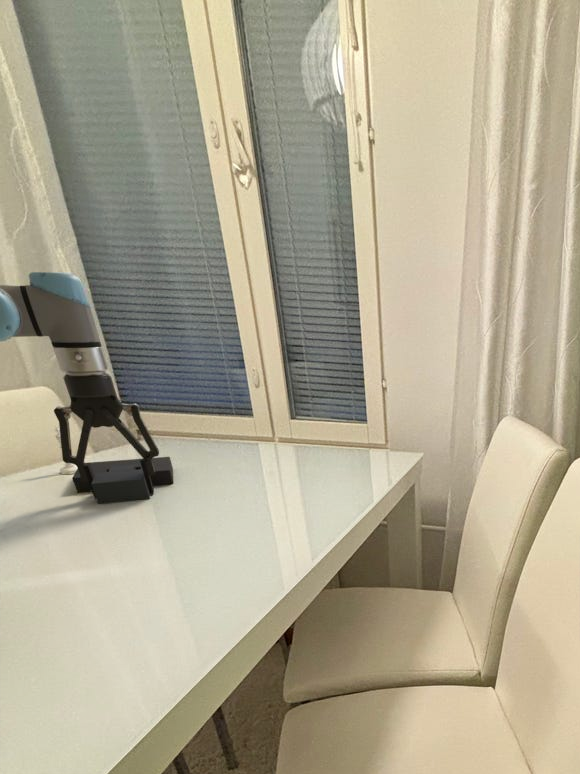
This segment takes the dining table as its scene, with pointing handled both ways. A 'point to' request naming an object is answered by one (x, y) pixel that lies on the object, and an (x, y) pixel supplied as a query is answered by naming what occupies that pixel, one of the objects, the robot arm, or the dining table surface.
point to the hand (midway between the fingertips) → (125, 494)
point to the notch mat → (160, 466)
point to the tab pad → (120, 485)
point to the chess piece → (68, 467)
